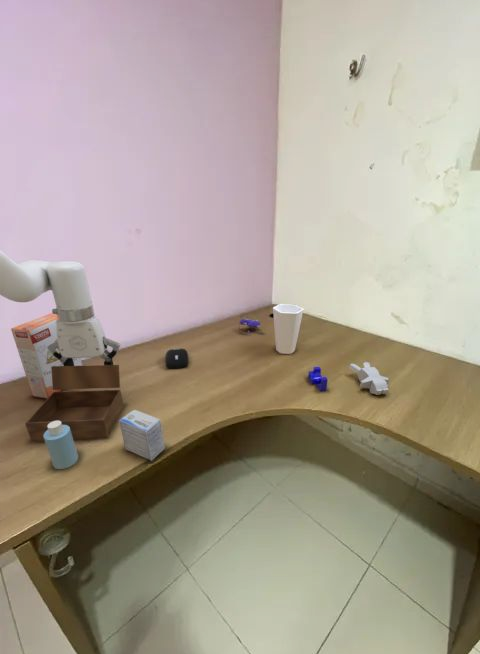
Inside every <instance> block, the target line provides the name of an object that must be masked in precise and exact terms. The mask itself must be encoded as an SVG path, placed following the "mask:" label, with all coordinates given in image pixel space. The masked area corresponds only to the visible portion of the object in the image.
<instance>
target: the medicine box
mask: <svg viewBox="0 0 480 654" xmlns="http://www.w3.org/2000/svg"><path fill="white" fill-rule="evenodd" d="M119 426H120V430H121V431H120V432H121V436H122V441H123V445H124V449H125V450H126V451H129V452H131V453H133V454H135V455H137V456H139V457H142V458H144V459H147V460H149V461H151V462H153V461H154V460H155V458H157V457H158V456H159V455H160V454H161V453H162V452H163V451H164V450H165V449H166V447H165V440H164V435H163V433H164V432H163V428H162V421H161V419H160V418H158V417H155V416H153V415H150V414H148V413H145V412H142V411H139V410H137V409H133V410H132V411H130V412H129V413H127V414H125V415H124V416H123V417H122V418H120V419H119Z"/></svg>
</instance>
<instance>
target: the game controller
mask: <svg viewBox="0 0 480 654" xmlns="http://www.w3.org/2000/svg"><path fill="white" fill-rule="evenodd" d="M242 316H243V315H241V316H240V318H242ZM240 325H241V326H243V325H244V326H247V327H249V328H260V326H261V322H260V321H259V319H256V320H253V319H249V317H248V316H246V318H242V319H240V320H239V323H238V329H239V332H240V334H242V335H243V333H242V332H241V328H240ZM249 333H250V330H248V331H246V333H244V335H245V334H249ZM257 333H258V334H260V332H258V331H257ZM261 334H262V335H263V334H264V333H263V332H261Z"/></svg>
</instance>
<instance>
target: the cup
mask: <svg viewBox="0 0 480 654" xmlns="http://www.w3.org/2000/svg"><path fill="white" fill-rule="evenodd" d="M272 311H273V313H272V314H273V328H274V340H275V351H276V352H277V353H279V354H284V355H285V354H286V355H290V354H293V353H294V352H295V351H296V347H297V342H298V337H299V333H300V328H301V323H302V319H303V314H304V308H303V307H301V306H299V305H297V304H291V303H289V304H288V303H280V304H277V305H275V306H273V307H272Z"/></svg>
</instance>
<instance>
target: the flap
mask: <svg viewBox="0 0 480 654" xmlns="http://www.w3.org/2000/svg"><path fill="white" fill-rule="evenodd" d="M51 370H52V385H53V390H61V391H63V390H64V391H65V390H89V389H90V390H91V389H92V390H93V389H120V388H121V379H120V378H121V377H120V364H113V365H104V364H94V365H93V364H91V365H90V364H89V365H88V364H87V365H82V366H51Z"/></svg>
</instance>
